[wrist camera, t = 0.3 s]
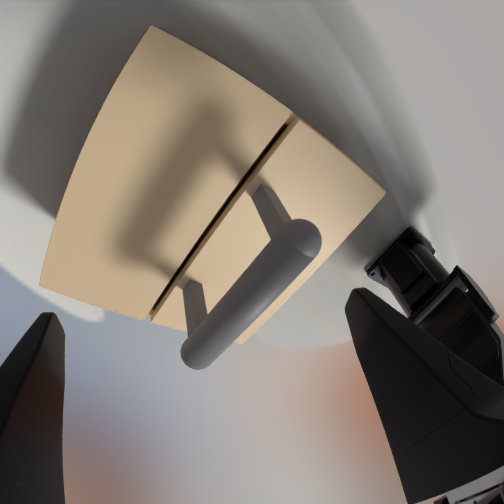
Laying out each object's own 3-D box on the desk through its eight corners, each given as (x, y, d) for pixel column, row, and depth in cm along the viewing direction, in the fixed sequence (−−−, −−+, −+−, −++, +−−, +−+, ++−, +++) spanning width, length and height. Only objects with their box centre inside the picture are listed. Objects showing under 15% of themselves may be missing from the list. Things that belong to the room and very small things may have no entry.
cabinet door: (381, 188, 16) (440, 247, 12) (240, 339, 22) (258, 405, 18) (295, 116, 13) (358, 167, 9) (150, 315, 18) (155, 394, 14)
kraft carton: (339, 149, 20) (387, 191, 16) (225, 285, 26) (241, 345, 22) (158, 29, 13) (151, 24, 8) (61, 223, 19) (38, 285, 14)
